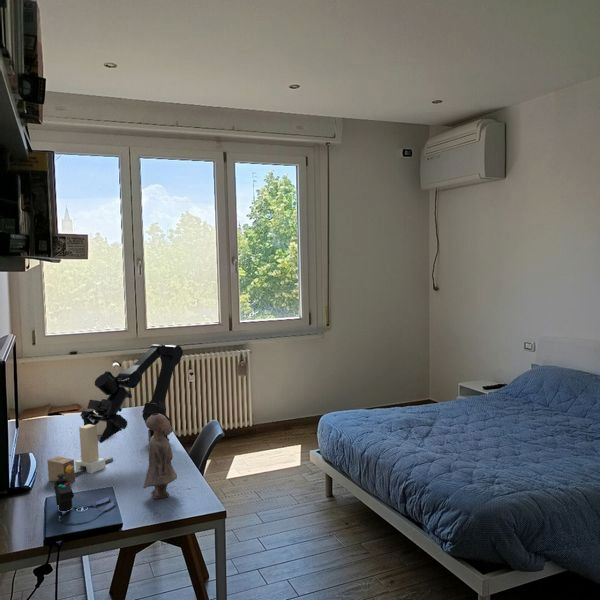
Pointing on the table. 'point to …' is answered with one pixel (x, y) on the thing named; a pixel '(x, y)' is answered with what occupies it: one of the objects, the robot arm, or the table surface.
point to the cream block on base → (89, 450)
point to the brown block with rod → (66, 468)
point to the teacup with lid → (100, 426)
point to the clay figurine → (159, 457)
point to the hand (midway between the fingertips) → (91, 440)
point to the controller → (63, 493)
